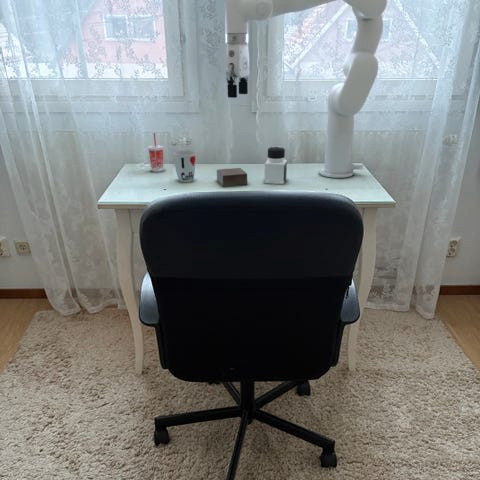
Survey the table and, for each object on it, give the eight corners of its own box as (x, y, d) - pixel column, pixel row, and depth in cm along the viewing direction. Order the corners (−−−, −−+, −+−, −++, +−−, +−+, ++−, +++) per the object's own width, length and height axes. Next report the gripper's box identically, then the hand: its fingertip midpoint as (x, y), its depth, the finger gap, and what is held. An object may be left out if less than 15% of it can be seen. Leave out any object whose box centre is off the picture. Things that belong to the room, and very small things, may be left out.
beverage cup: (166, 168, 206) (163, 131, 199) (164, 172, 201) (161, 134, 194) (150, 168, 206) (147, 131, 199) (148, 172, 201) (145, 134, 194)
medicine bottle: (283, 184, 185) (285, 149, 179) (264, 183, 186) (264, 149, 180) (286, 179, 191) (287, 145, 185) (267, 178, 192) (267, 145, 186)
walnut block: (240, 178, 192) (240, 167, 190) (247, 184, 185) (247, 173, 183) (216, 180, 190) (216, 169, 188) (223, 187, 183) (222, 175, 181)
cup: (179, 184, 186) (178, 156, 181) (171, 179, 192) (169, 151, 187) (200, 181, 189) (199, 153, 184) (191, 176, 196) (190, 149, 191)
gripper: (237, 40, 163) (238, 99, 171) (256, 38, 176) (256, 93, 185) (215, 40, 165) (217, 98, 174) (236, 38, 179) (237, 92, 187)
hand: (237, 95), depth 179 cm, fingers open, 9 cm apart
